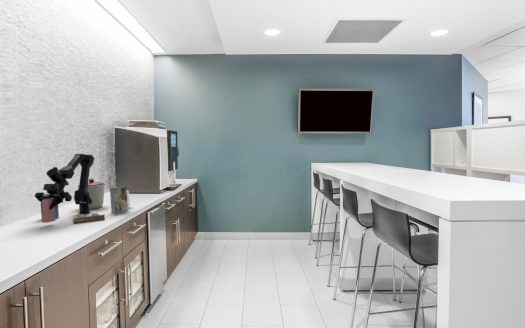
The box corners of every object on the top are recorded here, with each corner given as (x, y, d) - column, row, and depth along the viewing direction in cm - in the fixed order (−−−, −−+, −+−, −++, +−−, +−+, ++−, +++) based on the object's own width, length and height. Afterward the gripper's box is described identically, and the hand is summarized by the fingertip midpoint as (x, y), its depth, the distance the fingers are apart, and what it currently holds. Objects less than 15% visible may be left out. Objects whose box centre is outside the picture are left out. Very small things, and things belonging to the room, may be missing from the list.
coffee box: (119, 210, 229) (118, 186, 228) (128, 210, 227) (126, 186, 226) (110, 213, 220) (109, 188, 219) (119, 213, 218) (118, 188, 217)
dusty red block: (50, 220, 190) (49, 198, 190) (55, 220, 190) (54, 198, 189) (42, 222, 184) (42, 199, 184) (48, 222, 184) (47, 199, 183)
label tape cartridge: (59, 216, 211) (58, 197, 210) (58, 218, 208) (57, 198, 207) (42, 218, 207) (41, 198, 207) (41, 219, 204) (40, 199, 203)
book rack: (72, 220, 199) (72, 214, 199) (102, 216, 208) (101, 211, 208) (73, 223, 190) (73, 218, 190) (104, 219, 198) (104, 214, 198)
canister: (106, 204, 254) (105, 176, 253) (106, 208, 237) (105, 178, 236) (79, 207, 246) (77, 178, 245) (77, 211, 230) (75, 180, 228)
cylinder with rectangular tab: (132, 206, 242) (132, 190, 241) (123, 209, 233) (123, 191, 232) (122, 206, 244) (122, 189, 244) (113, 208, 236) (112, 191, 235)
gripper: (35, 178, 190) (22, 201, 180) (67, 177, 189) (56, 200, 179) (46, 190, 198) (33, 212, 188) (76, 189, 197) (66, 212, 187)
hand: (47, 209), depth 185 cm, fingers closed on dusty red block, 3 cm apart
